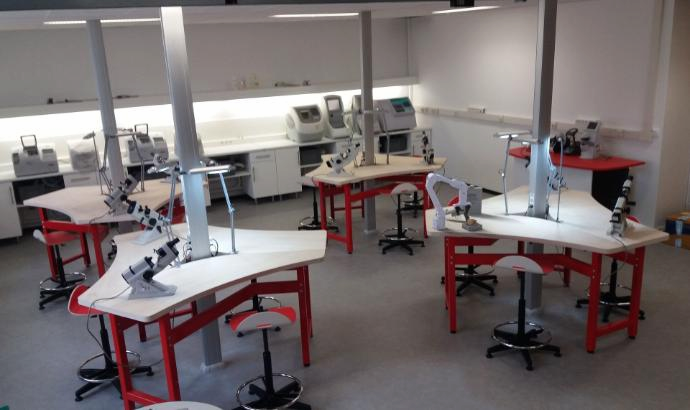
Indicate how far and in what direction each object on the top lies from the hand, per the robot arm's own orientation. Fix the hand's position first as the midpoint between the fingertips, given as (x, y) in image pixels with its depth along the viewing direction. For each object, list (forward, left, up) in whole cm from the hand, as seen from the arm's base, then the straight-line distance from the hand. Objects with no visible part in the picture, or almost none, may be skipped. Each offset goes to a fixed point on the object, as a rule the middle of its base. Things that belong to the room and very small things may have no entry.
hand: (462, 214), depth 444 cm
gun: (+5, +21, -10) cm, 24 cm away
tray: (+5, -7, -10) cm, 13 cm away
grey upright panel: (+29, +30, -10) cm, 43 cm away
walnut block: (+5, -6, -9) cm, 12 cm away
